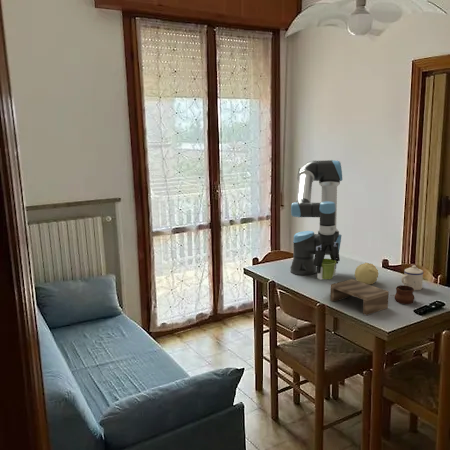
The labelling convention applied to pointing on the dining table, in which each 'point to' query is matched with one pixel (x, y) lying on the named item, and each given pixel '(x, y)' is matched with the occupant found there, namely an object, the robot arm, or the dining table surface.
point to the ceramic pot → (404, 294)
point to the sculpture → (366, 273)
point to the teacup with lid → (413, 278)
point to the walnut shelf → (361, 295)
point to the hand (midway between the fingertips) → (326, 277)
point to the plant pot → (328, 268)
